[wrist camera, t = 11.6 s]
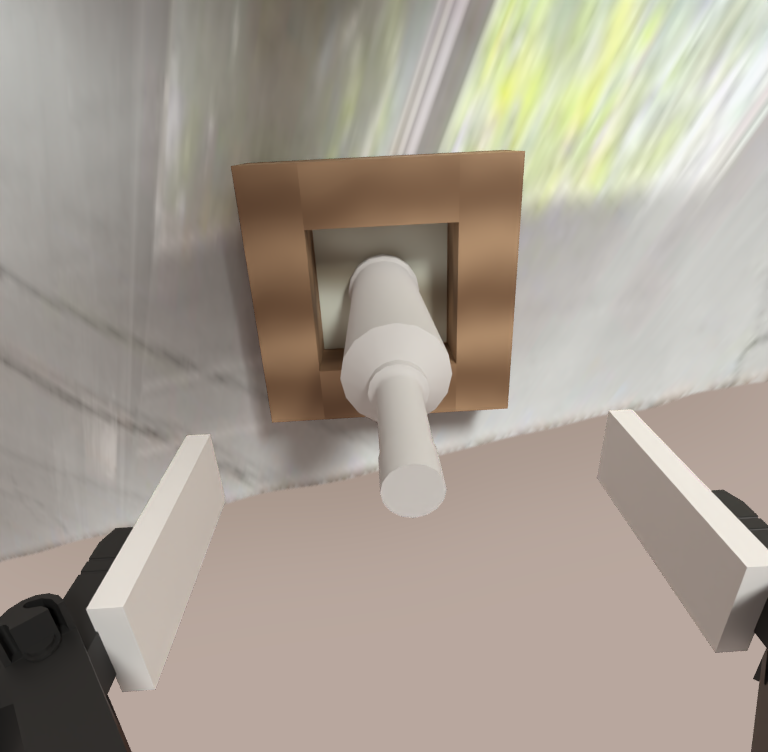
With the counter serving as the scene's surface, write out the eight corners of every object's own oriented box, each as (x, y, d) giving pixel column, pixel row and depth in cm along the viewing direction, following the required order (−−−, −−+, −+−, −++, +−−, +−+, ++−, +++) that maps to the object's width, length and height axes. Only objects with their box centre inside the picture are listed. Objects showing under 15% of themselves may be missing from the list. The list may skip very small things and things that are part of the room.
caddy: (247, 162, 35) (230, 166, 30) (503, 149, 35) (525, 151, 31) (281, 392, 43) (272, 422, 38) (492, 380, 43) (507, 408, 38)
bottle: (427, 301, 39) (518, 521, 16) (366, 328, 40) (372, 575, 17) (400, 239, 37) (462, 390, 14) (337, 269, 37) (298, 458, 15)
